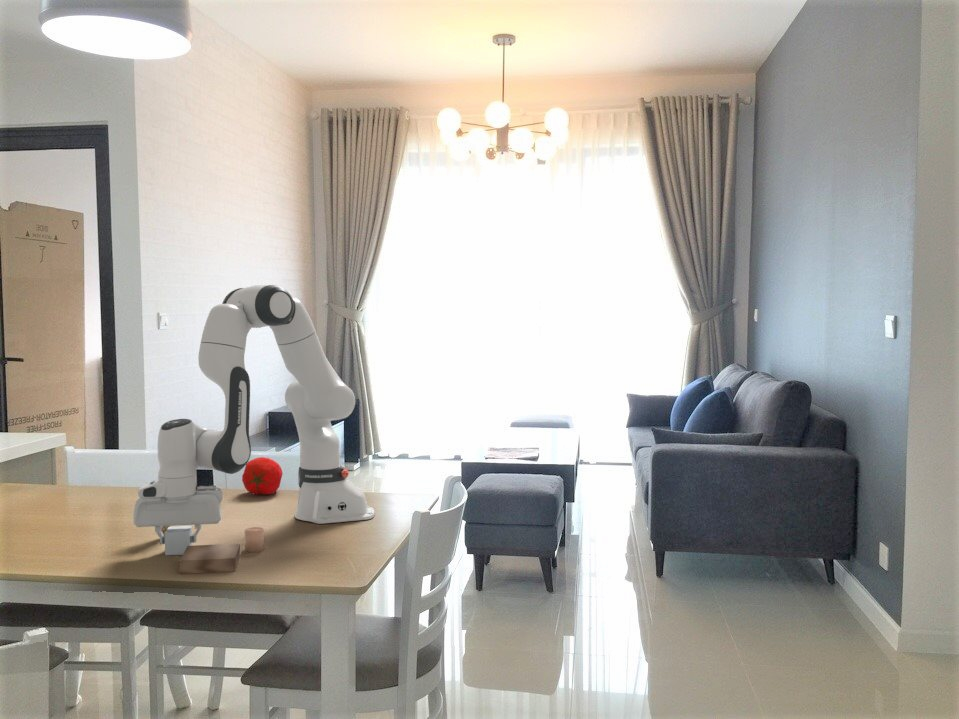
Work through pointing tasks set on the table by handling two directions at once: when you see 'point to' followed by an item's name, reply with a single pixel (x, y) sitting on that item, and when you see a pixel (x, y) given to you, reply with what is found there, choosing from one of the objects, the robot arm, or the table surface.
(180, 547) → the white cube
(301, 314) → the robot arm
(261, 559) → the table surface
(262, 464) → the tomato
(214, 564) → the walnut plinth
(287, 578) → the table surface
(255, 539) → the peach rounded block
